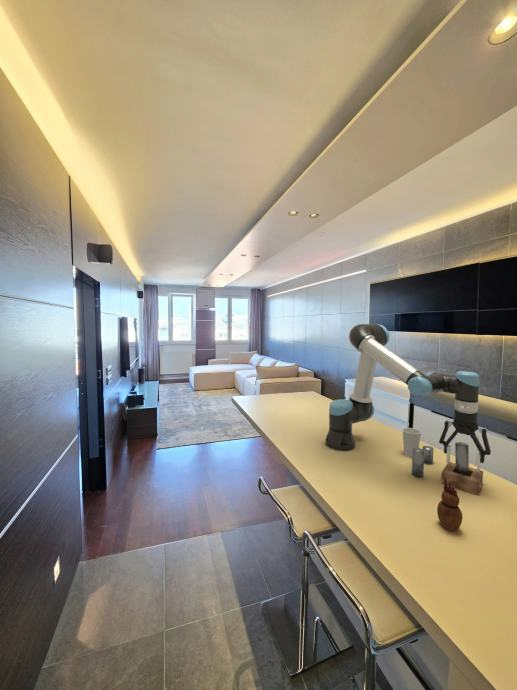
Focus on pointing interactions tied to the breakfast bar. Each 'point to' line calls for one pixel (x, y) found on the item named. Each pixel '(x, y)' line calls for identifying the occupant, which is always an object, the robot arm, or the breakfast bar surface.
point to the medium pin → (418, 462)
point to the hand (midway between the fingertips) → (462, 465)
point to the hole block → (463, 479)
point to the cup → (410, 440)
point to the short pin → (428, 454)
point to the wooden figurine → (449, 508)
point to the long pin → (462, 458)
